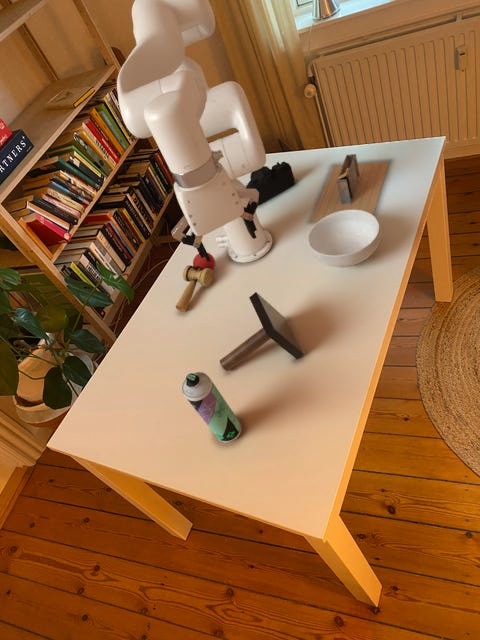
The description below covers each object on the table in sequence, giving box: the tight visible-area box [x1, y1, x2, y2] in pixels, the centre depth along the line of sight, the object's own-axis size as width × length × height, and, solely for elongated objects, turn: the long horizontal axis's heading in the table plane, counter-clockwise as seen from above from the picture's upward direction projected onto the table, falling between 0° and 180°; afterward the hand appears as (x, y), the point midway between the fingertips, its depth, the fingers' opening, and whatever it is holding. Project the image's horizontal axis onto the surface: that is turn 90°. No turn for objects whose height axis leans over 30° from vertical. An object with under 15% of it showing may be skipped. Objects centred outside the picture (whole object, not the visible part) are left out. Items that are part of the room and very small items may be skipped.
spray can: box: [181, 371, 243, 444], centre depth 92 cm, size 6×6×20 cm
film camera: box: [245, 161, 296, 206], centre depth 145 cm, size 15×10×9 cm, turn 114°
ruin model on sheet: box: [311, 153, 391, 222], centre depth 132 cm, size 25×16×10 cm, turn 159°
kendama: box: [175, 252, 216, 313], centre depth 129 cm, size 8×6×18 cm
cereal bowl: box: [307, 210, 381, 268], centre depth 118 cm, size 17×17×7 cm
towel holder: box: [219, 291, 305, 372], centre depth 105 cm, size 18×12×12 cm
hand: (230, 246), depth 93 cm, fingers open, 9 cm apart
